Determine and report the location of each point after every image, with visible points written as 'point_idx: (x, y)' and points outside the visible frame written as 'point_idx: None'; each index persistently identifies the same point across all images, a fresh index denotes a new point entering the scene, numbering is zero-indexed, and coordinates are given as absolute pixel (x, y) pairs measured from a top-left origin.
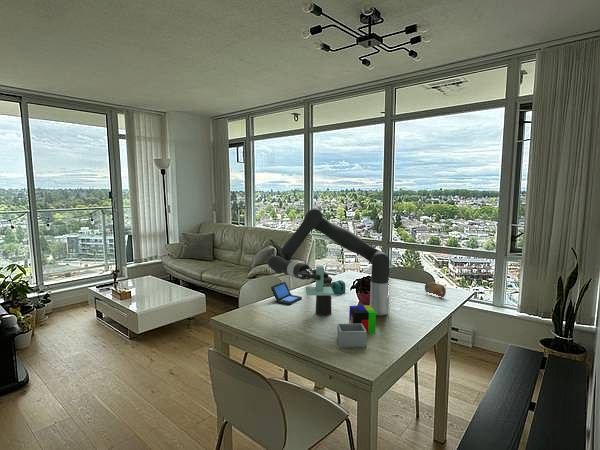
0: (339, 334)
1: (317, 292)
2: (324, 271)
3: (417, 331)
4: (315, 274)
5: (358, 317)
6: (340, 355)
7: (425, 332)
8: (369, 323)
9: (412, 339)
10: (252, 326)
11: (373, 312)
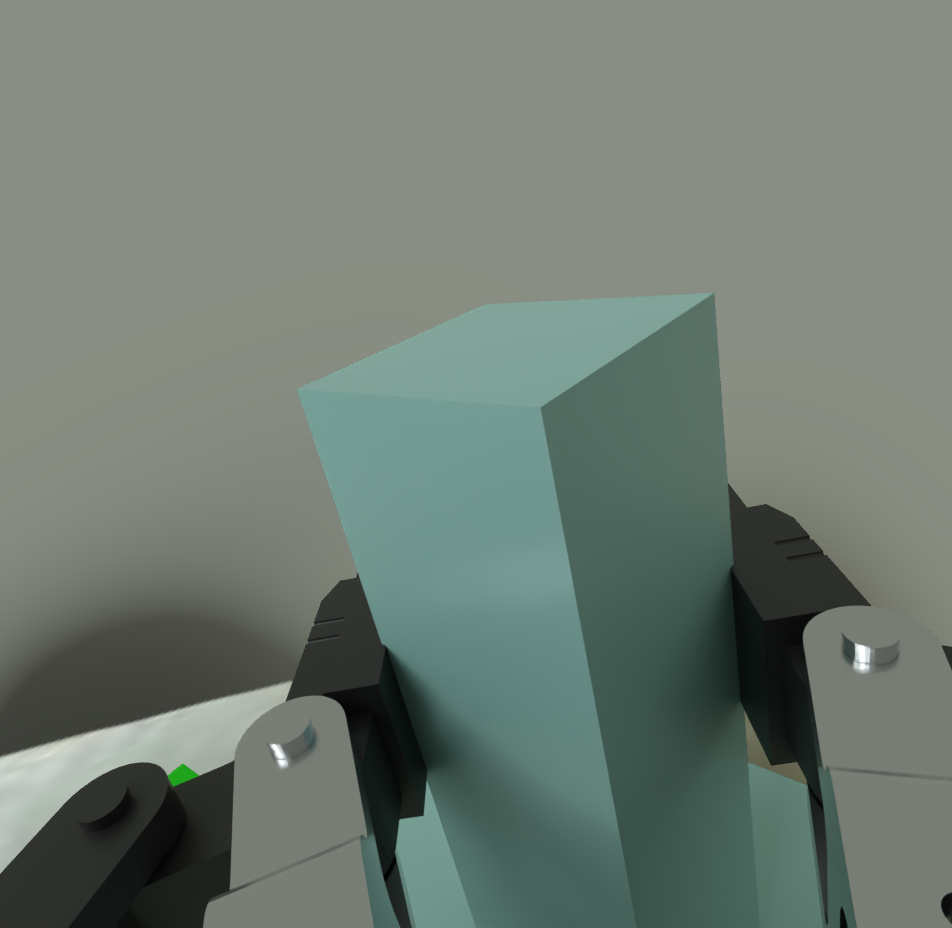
0: None
1: (785, 825)
2: (124, 782)
3: (83, 762)
4: (770, 572)
5: None
6: (758, 764)
7: (83, 734)
8: None
9: (225, 711)
10: None
11: (192, 773)
